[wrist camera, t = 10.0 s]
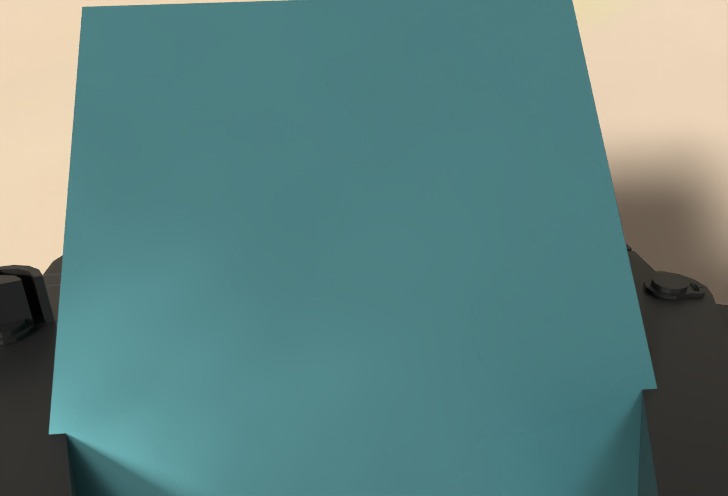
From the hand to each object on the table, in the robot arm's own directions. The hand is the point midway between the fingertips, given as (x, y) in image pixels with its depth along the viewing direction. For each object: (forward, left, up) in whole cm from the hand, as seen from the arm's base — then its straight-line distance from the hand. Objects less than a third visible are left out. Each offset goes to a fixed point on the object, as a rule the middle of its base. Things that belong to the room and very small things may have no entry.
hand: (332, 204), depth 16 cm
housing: (0, +3, -4) cm, 5 cm away
